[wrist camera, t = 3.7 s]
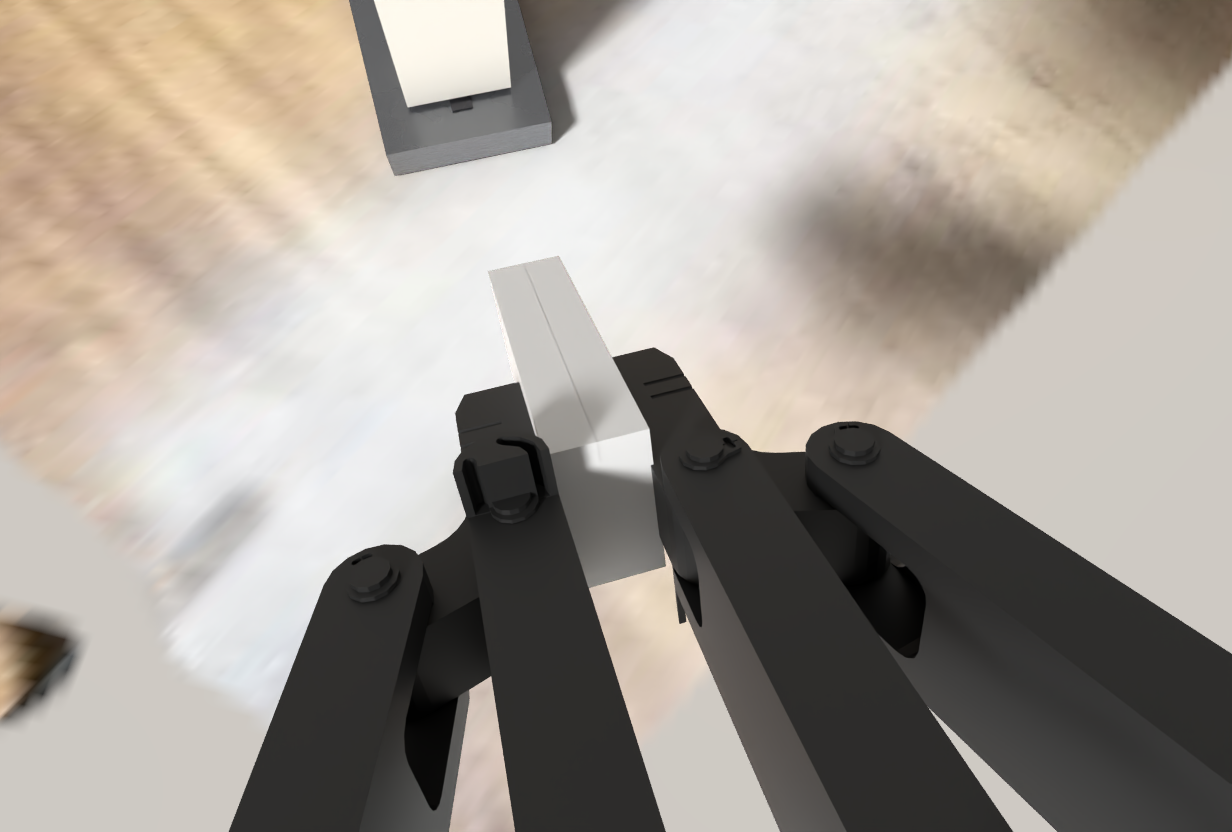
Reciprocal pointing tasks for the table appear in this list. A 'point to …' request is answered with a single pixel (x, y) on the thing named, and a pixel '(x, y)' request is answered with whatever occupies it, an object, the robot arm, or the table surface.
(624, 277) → the table surface
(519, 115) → the grey slotted track base
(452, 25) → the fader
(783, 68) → the table surface
